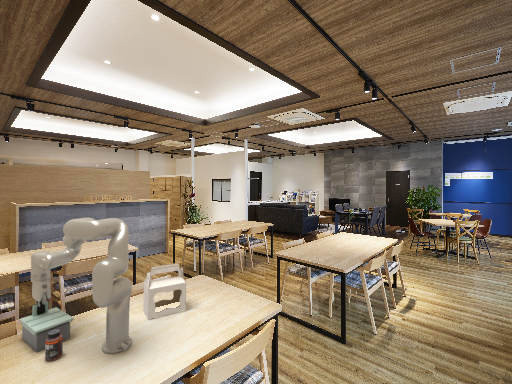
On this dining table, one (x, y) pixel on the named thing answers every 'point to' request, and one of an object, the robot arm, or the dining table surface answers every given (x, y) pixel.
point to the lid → (44, 319)
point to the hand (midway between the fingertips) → (40, 313)
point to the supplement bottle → (53, 345)
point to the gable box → (164, 285)
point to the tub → (44, 336)
